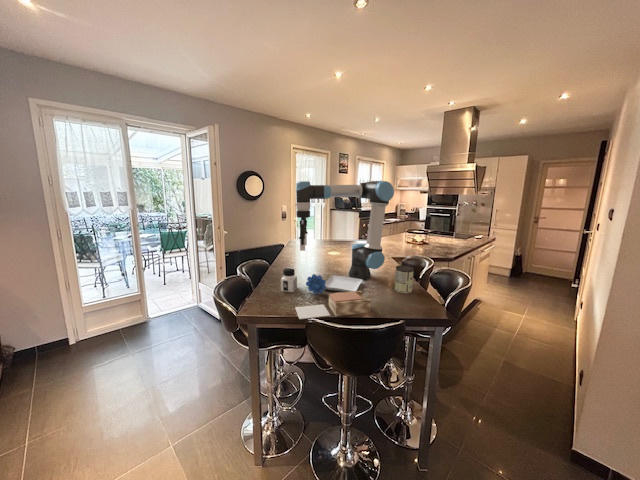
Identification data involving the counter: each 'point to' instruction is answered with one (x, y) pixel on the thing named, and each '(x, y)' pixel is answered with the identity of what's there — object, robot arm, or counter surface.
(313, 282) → the grapes
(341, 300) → the block
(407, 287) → the coffee can
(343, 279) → the salad plate
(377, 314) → the counter surface
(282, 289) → the container
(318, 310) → the mat
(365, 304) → the box
